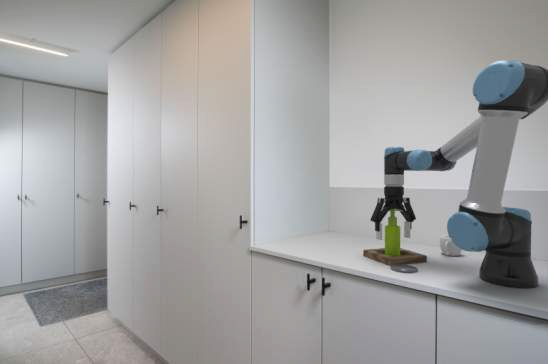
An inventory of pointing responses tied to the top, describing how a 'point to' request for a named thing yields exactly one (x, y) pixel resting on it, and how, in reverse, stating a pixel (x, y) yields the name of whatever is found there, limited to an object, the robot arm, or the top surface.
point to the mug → (449, 246)
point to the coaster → (404, 268)
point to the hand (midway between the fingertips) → (393, 238)
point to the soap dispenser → (392, 235)
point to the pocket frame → (395, 257)
